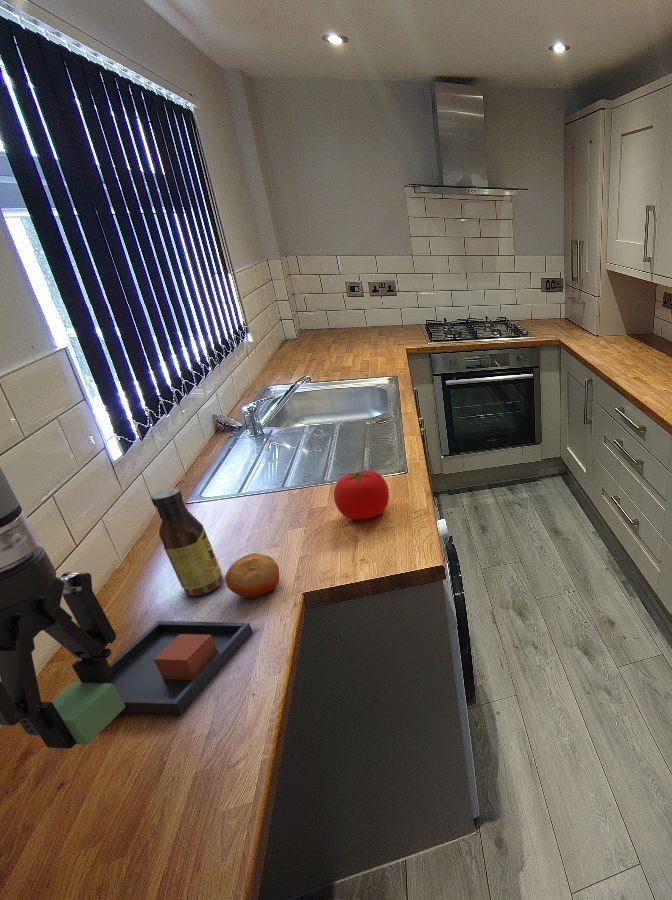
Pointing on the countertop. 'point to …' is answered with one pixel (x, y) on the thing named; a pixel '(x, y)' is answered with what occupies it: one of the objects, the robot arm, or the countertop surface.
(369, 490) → the tomato
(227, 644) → the tray
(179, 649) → the reddish brown block
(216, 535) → the countertop surface
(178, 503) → the sauce bottle
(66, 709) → the green block
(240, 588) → the fruit
